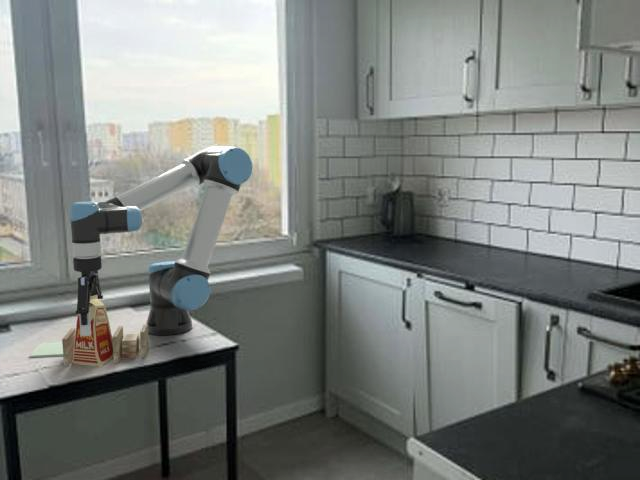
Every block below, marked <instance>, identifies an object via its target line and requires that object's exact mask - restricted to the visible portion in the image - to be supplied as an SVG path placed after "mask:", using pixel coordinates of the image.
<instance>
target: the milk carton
mask: <svg viewBox="0 0 640 480" xmlns="http://www.w3.org/2000/svg"><path fill="white" fill-rule="evenodd" d="M82 309H84V308H82ZM89 312H90V321H91V336H81V335H80V319H79V314H77V315H76V316H77V318H76V325H75V326H76V327H75V330H76V333H75V342H74V351H73V360H72V362H71V364H72V365H73V364H74V365H83V366H90V367H102V366H104V365H105V364H107V363H108V362H109V361H110V360H112V359H114V354H113V339H112V337H113V335H112V330H111V329H112V328H111V325H110V321H109V316H108V312H107V308H106V305H105V304H104V303H103V302H102V300H101V299H98V295H94V296H90V305H89Z"/></svg>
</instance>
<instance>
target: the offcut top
mask: <svg viewBox="0 0 640 480" xmlns="http://www.w3.org/2000/svg"><path fill="white" fill-rule="evenodd" d="M139 335H140V334H139V333H128V334H123V340H122V348H123V347H136V346H137V344H138V341H139V342H140V337H139Z"/></svg>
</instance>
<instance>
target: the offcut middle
mask: <svg viewBox="0 0 640 480" xmlns="http://www.w3.org/2000/svg"><path fill="white" fill-rule="evenodd" d="M138 348H139V349H140V340H139V341H138V344H137V346H136V347H123V348H122V354H129V353H136V352H137V350H138Z"/></svg>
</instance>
